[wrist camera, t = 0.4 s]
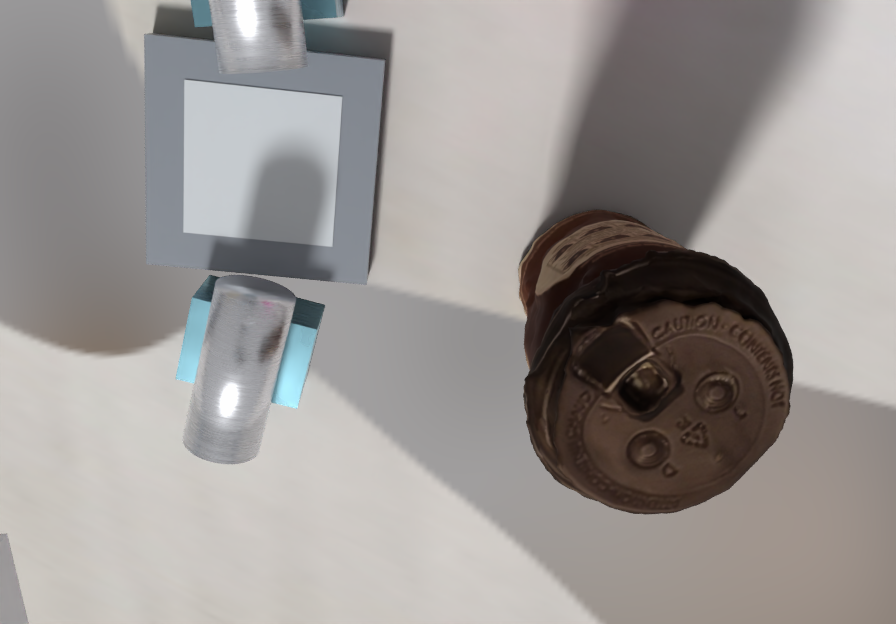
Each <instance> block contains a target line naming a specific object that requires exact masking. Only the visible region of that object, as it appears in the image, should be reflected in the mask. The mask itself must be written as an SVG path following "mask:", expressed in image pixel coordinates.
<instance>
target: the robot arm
mask: <svg viewBox="0 0 896 624" xmlns="http://www.w3.org/2000/svg"><path fill="white" fill-rule="evenodd" d="M0 624H29V623H28V619H27V615H26V610H25V606H24V602H23V598H22V594H21V590H20V585H19V581H18V577H17V573H16V569H15V565H14V561H13V556H12V552H11V548H10V544H9V540H8V536H7V534H0Z"/></svg>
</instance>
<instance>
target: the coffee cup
mask: <svg viewBox="0 0 896 624" xmlns="http://www.w3.org/2000/svg"><path fill="white" fill-rule="evenodd" d="M518 273H519V281H520V289H519V298H520V300H521V301H522V303H523V306H524V311H525V314H526V316H527V322H526V324H525V338H524V348H525V353H526V360H527V364H528V367H529V369H530V371H529V374H528V376H527V377H526V378H525V385H524V394H523V397H524V404H525V410H526V413H527V421H526V424H527V427H528V430H529V434H530V440H531V443H532V445H533V448H534V450H535V452H536V454H537V456H538V457H539V458H540V460H541V462H542V463H543V465H544V466H545V468H546V470H547V471H548V472H550V473H551V475H552V476H553V477H554V479H555V480H557V481H558V482H559V483H561V484H562V485H564V486H566V487H567V488H569V489H572V490H574V491H577V492H578V493H579V494H581V495H582V496H584V497H586V498H589V499H592V500H595V501H599V502H601V503H603V504H604V505H606V506H609V507H611V508H614V509H618V510H621V511H626V512H629V513H633V514H659V513H674V512H678V511H681V510H683V509H686V508H689V507H692V506H696V505H698V504H700V503H703V502H705V501H707V500H709V499H711V498H712V497H714V496H716V495H719V494H721V493H722V492H725V491H726V490H728V489H730V488H731V486H733V485H734V484H735V483H736V482H737V481H738V480H739V479H740V478H741V477H742V476H743V475H744V474H745V473H746V472H747V471H748V470H749V469H750V467H752V466H753V465H754V464H755V462H757V461H758V459H759V458H760V457H761V456H762V455H763V454H764V453H765V452H766V451H767V450H768V448H769V447H771V446H772V445H773V444H774V442H775V441H776V439H777V438H778V436H779V433H780V431H781V430H782V429H783V425H784V423H785V419H786V418H787V416H788V415H789V410H790V402H789V400H790V393H791V388H792V383H793V359H792V353H791V349H790V346H789V343H788V340H787V338H786V336H785V333H784V332H783V330H782V328H781V326H780V324H779V321H778V319H777V317H776V316H775V314H774V312H773V310H772V309H771V307H770V305H769V302H768V299H767V298H766V296H765V294H764V292H763V291H762V290H761V289H760V288H759V287H757V286H756V285H754V283H753V282H752V281H751V280H750V279H748V278H747V277H746V276H745V275H743V274H742V273H741V272H740V271H739V270H738V269H737V268H735V267H733V266H731V265H729V264H728V263H727V262H726V261H725V260H722V259H719V258H718V257H716V256H710V255H708V254H706V253H702V252H696V251H694V250H687V249H686V248H684V247H682V246H681V245H679V244H678V243H677V242H676V241H674V240H671V239H669V238H666V237H664V236H663V235H661V234H659V233H657V232H655V231H653V230H651V229H650V228H649V227H647V226H646V225H645V224H643V223H642V222H640V221H638V220H637V219H635V218H633V217H631V216H628V215H624V214H620V213H616V212H611V211H605V210H591V211H586V212H582V213H579V214H575V215H572V216H570V217H568V218H566V219H564V220H562V221H560V222H557V223H556V224H555V225H554V226H552V227H551V228H550V229H549V230H547V231H546V232H545V233H544V234H542V235H541V236H539V237H538V238H537V239H536V240H535V241H534V242H533V244H532V247H531V249H530V250H529V252H528V253H527V255H526V256H525V257H524V259H523V260H522V261H521V263H520V266H519V269H518Z"/></svg>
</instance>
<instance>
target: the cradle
mask: <svg viewBox="0 0 896 624" xmlns="http://www.w3.org/2000/svg"><path fill="white" fill-rule="evenodd" d="M144 47H145V162H146V163H145V168H146V264H152V265H163V266H173V267H184V268H195V269H205V270H215V271H226V272H236V273H248V274H258V275H268V276H279V277H289V278H300V279H310V280H321V281H332V282H343V283H353V284H363V285H366V284H367V279H368V269H369V257H370V245H371V233H372V220H373V208H374V196H375V184H376V171H377V159H378V147H379V135H380V122H381V110H382V98H383V86H384V73H385V61H386V59H379V58H370V57H361V56H352V55H343V54H335V53H326V52H317V51H308V50H307V57H308V65H309V66H308V67H304V68H298V69H291V70H282V71H272V72H259V73H243V74H220V73H219V67H218V60H217V53H216V47H215V40H209V39H200V38H191V37H182V36H173V35H164V34H155V33H149V34H144Z"/></svg>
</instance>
